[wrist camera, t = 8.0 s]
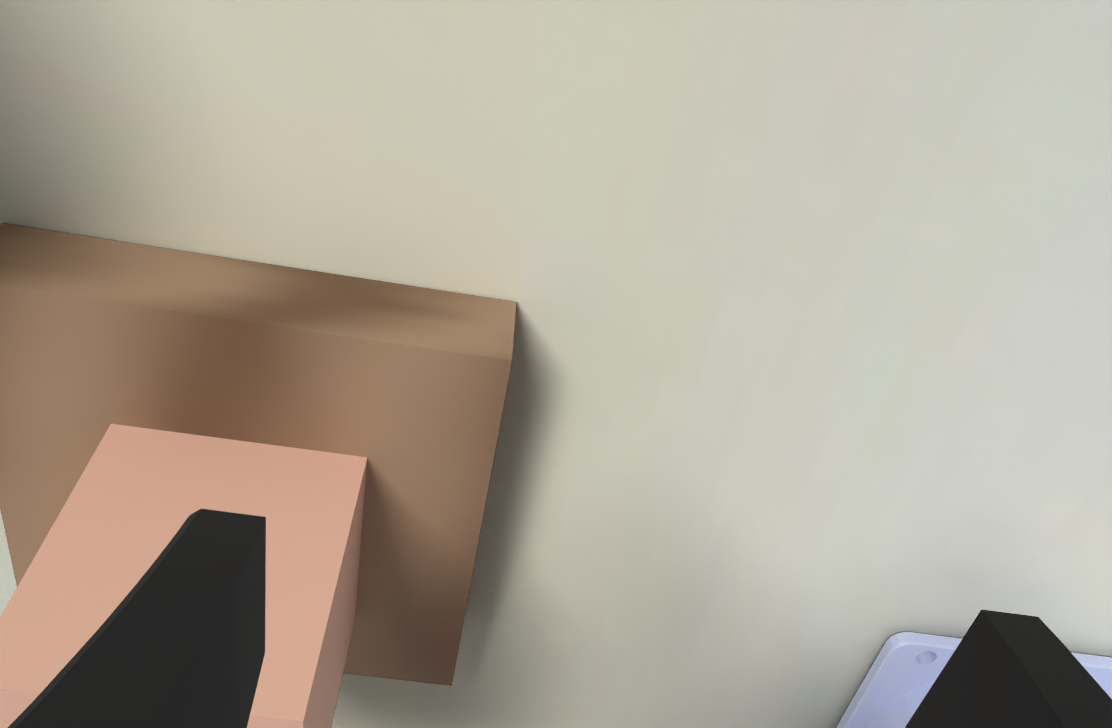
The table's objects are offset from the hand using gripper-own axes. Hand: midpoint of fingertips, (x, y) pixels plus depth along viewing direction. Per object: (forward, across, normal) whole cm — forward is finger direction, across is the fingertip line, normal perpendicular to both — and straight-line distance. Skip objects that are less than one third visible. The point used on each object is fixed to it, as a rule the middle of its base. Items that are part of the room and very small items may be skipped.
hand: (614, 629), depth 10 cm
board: (+10, +6, +8) cm, 14 cm away
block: (+8, +6, +8) cm, 13 cm away
